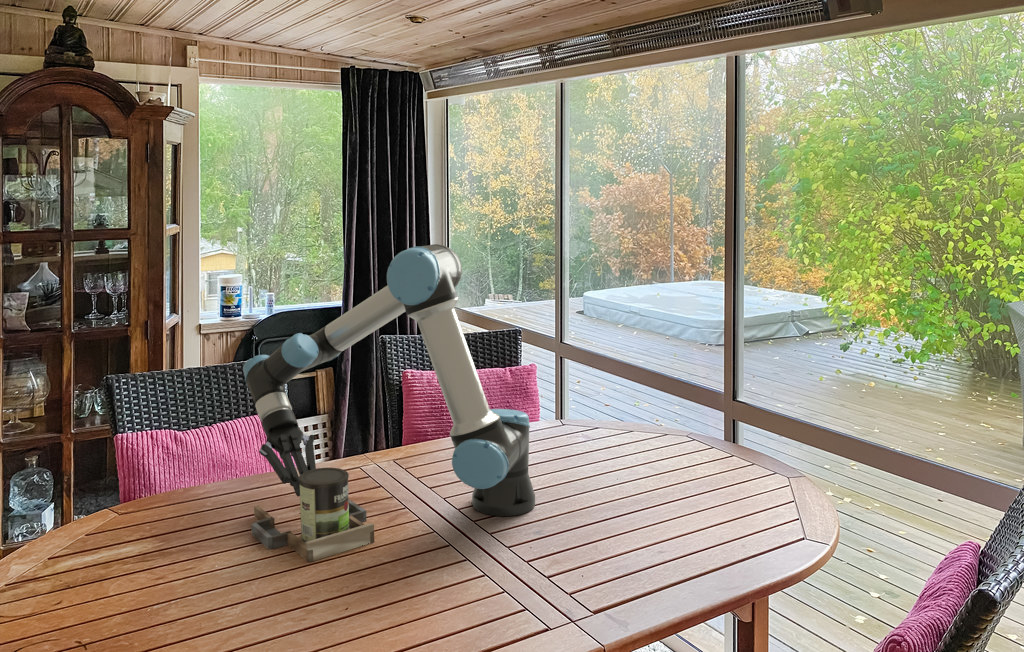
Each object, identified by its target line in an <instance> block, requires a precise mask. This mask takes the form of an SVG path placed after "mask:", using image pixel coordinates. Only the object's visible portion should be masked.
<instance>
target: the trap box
mask: <svg viewBox="0 0 1024 652" xmlns="http://www.w3.org/2000/svg"><path fill="white" fill-rule="evenodd" d="M253 516H254V518H255V519H256V518H257V519H256V521H254V522H252V523H251V525H250V528H251V535H252V536H253V537H254V538H255V539H256V540H257V541H258V542H260V544H261V545H263V546H264V547H265V548H266V549H268V550H270V549H273V550H275V549H278V548H282V547H284V546H285V547H286V546H289V547H290V549H292V550H293V551H295V553H297V554H298V555H299V556H300V557H301V558H303V559H304V560H305V561H306V562H307V563H311V562H314V561H317V560H321V559H324V558H327V557H331V556H334V555H337V554H340V553H343V552H346V551H347V552H348V551H349V550H353V549H357V548H360V547H363V546H366V545H369V544H372V542H373V543H374V542H375V524H374V523H373V522H369V523H366V524H364V523H365V522H367V510H366V509H365V508H364V507H363V506H360V505H359V504H357V503H355V502H354V501H352V499H349V528H350V529H349V530H345V531H342V532H338V533H335V534H332V535H328V536H325V537H321V538H318V539H315V540H311V541H308V542H306V543H304V542H303V541H302V540H301V538H299V537H298V536H297V535H296V534H294V533H293V532H292V531H291V530H288V531H285V532H281V531H279V530H278V529H277V528H276V527H275V518H274V517H273V516H272V515H270V513H269V512H267V511H265V510H264V509H263V508H262V507H261V506H260V505H255V506H253ZM363 522H364V523H363ZM368 543H369V544H368ZM362 545H363V546H362Z"/></svg>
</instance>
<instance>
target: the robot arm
mask: <svg viewBox="0 0 1024 652" xmlns="http://www.w3.org/2000/svg"><path fill="white" fill-rule="evenodd" d="M462 267H463V265H462V261H461V260H460V258H459V256H458V254H457V253H456V252H455V251H454V250H452V249H451V248H450V247H449V246H446V245H443V244H437V243H436V244H427V245H422V246H421V245H420V246H413V247H409V248H407V249H405V250H402V251H400V252H398V253H397V254H396V255H395V256H394V257H393V259H392V260H391V261H390V263H389V266H388V267H387V270H386V271H387V272H386V283H387V285H386V286H384V287H383V288H382V289H381V288H380V290H378V291H377V292H375V293H373V294H372V295H371V296H369V297H367V298H366V299H365V300H363V301H362V302H360V303H359V304H357V305H356V306H354V307H352V308H351V309H350V310H348V311H346V312H344V313H343V314H341V315H340V316H339V317H337V318H336V319H334V320H332V321H331V322H329V323H328V324H327V325H325V326H324V327H322V328H320V329H318V330H317V331H316V332H314V333H312V334H310V335H308V334H307V333H306V334H303V333H302V332H298V333H295V334H293V335H292V336H291V337H289V338H287V339H286V340H285V341H284V342H283V343H282V345H280V346H279V347H278V348H277V349H276V350H274V351H273V352H272V353H271V354H270V355H268V354H258V355H255V356H253V357H252V358H249V359H247V360H246V361H245V362H244V364H243V366H242V371H243V374H244V379H245V383H246V385H247V388H248V390H249V393H250V395H251V397H252V400H253V402H254V406H255V409H256V411H257V412H256V413H257V414H258V417H259V421H260V422H261V426H262V429H263V432H264V434H265V436H266V440H265V443H263V444H262V445H261V446H260V449H259V450H258V452H259V454H260V455H261V456H263V457H264V458H265V459H266V460H267V462H268V463H269V464H270V466H271V469H273V471H274V472H275V474H276V475H277V477H278V478H279V480H280V481H281V483H282V484H284V485H286V484H289V486H291V487H292V488H293V491H294V492H295V495H296V496H297V497H300V482H299V476H300V475H301V474H302V473H304V472H306V471H309V470H312V469H317V466H316V459H315V456H316V455H315V448H314V441H315V435H314V434H310V435H307V434H304V431H302V429H301V428H300V427H299V422H298V420H297V417H296V414H295V412H294V411H293V407H292V404H291V403H290V399H289V398H288V394H287V391H286V389H285V386H286V384H288V383H289V382H291V381H292V379H294V378H295V377H296V376H297V375H299V374H300V373H302V372H303V371H306V370H309V369H311V368H314V367H316V366H319V365H322V364H323V363H326V362H330V361H332V360H334V359H336V358H337V357H339V356H340V354H341V353H343V351H345V350H347V349H348V348H350V347H352V346H354V345H355V344H356V343H357V342H360V341H361V340H363V339H365V338H366V337H367V336H368V335H371V334H372V333H373V332H376V331H377V330H378V329H380V328H382V327H384V326H385V325H386V324H388V323H389V322H391V321H393V320H394V319H396V318H397V317H400V316H401V315H402V314H403V313H406V315H407V317H409V318H411V319H412V320H414V321H416V323H417V325H418V328H419V330H420V333H421V336H422V339H423V342H424V345H425V347H426V351H427V354H428V355H429V358H430V362H431V364H432V367H433V370H434V373H435V375H436V379H437V382H438V384H439V387H440V390H441V393H442V395H443V397H444V398H443V399H444V401H445V404H446V406H447V410H448V412H449V415H450V418H451V420H452V423H453V424H452V428H451V430H450V431H449V437H450V439H451V442H452V445H453V448H454V451H453V453H452V457H451V465H452V469H453V472H454V474H455V475H456V477H457V478H458V479H459V481H460V482H462V483H463V484H465V485H467V486H468V487H470V488H473V490H472V497H471V505H472V507H473V508H474V509H475V510H476V511H478V512H480V513H482V514H486V515H490V516H497V517H513V516H519V515H523V514H526V513H528V512H530V511H532V510H533V509H534V507H535V506H536V493H535V490H534V488H533V485H532V481H531V478H530V475H529V463H530V462H529V461H530V460H529V454H530V453H529V452H530V451H529V450H530V428H531V425H530V417H529V415H528V413H526V412H524V411H521V410H517V409H508V408H492V409H491V408H490V406H489V403H488V399H487V397H486V394H485V391H484V389H483V386H482V383H481V380H480V377H479V375H478V371H477V370H476V365H475V363H474V360H473V357H472V355H471V352H470V349H469V346H468V343H467V341H466V337H465V334H464V332H463V329H462V325H461V323H460V321H459V318H458V314H457V312H456V309H455V308H456V304H457V302H458V301H459V296H458V294H457V291H456V287H457V286H458V284H459V283H460V281H461V278H462V272H463V268H462ZM301 443H303V446H304V452H305V453H304V454H305V458H304V456H303V453H302V451H301V450H302V449H301ZM275 451H276V452H277V453H278V455H279V457H280V458H279V457H278V455H277V454H276V453H275ZM280 459H281V460H282V461H281V460H280ZM531 509H532V510H531Z"/></svg>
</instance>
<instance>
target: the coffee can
mask: <svg viewBox="0 0 1024 652" xmlns="http://www.w3.org/2000/svg"><path fill="white" fill-rule="evenodd" d="M349 475H350V474H349V473H348V471H347V470H346V469H345V470H344V468H343V469H341V468H337V467H318V468H317V467H316V469H312V470H309V471H306V472H304V473H302V474H301V475H298V476H299V482H300V496H299V500H300V501H299V505H300V506H299V507H300V509H299V510H300V530H301V531H300V532H301V533H300V534H301V538H300V539H301V540H302V541H303V542H304V543H306V542H308V541H311V540H315V539H318V538H321V537H325V536H328V535H332V534H335V533H338V532H342V531H345V530H349V500H350V498H349V477H350V476H349Z"/></svg>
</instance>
